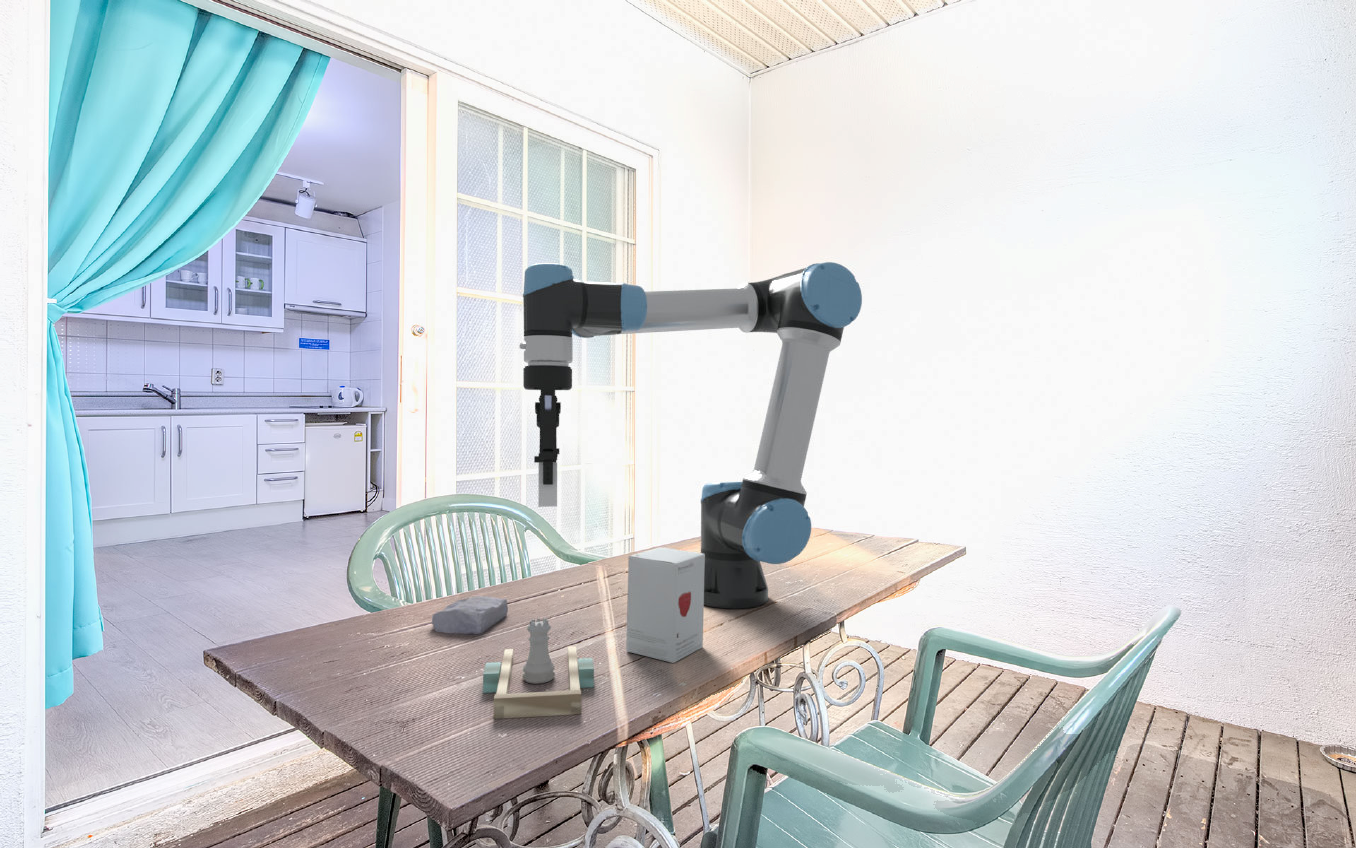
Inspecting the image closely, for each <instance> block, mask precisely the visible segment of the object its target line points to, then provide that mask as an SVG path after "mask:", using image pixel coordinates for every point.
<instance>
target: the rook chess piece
mask: <svg viewBox="0 0 1356 848" xmlns="http://www.w3.org/2000/svg"><path fill="white" fill-rule="evenodd" d="M551 628H552V626H551V625H550V623H549V619H547V618H542V621H541V617H539V618H536V619H534V618H533V619H531V620H529V624H528V626H527V627H526V630H527V631H528V633H529V634H530V635H529V637H528V642H529V652H528V657H527V659H526V660H525V661H526V663H525V664H524V665H523V668H522V671H523V674H522V679H523V680H524V681H525V682H526V683H529V684H533V685H534V684H535V685H538V684H539V685H540V684H546V683H549V682H551V681H552V680H553V679H554V678H555V676H556V673H555V671H554V670H555V665H554V663H553V661H552V658H550V653H549V647H548V646H549V640H550V636H548V635H549V634H548V633H549V631H550V630H551Z"/></svg>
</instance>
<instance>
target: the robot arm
mask: <svg viewBox="0 0 1356 848" xmlns="http://www.w3.org/2000/svg"><path fill="white" fill-rule="evenodd" d="M523 278H524V281H523V282H524V283H523V293H522V298H523V300H522V301H523V302H522V303H523V341H524V342H521V343H520V344H519V349H521V350H524V351H523V361H524V362H525V363H527V365H525V366H524V368H523V373H522V374H523V375H522V376H523V377H522V378H523V381H522V382H523V383H522V384H523V388H524V389H525V391H526V390H527V391H540V395H539V397H538V401H535V402H534V413H535V414H536V427H537V428H539V447H538V448H539V449H538V450H539V453H538V455H534V457H533V459H534V463H536V464H537V463H538V501H537V502H538V503H537V504H538V507H539V508H540V507H541V508H543V507H545V508H548V507H558V462H557V461H558V455H560V448H558V447H557V445H558V443H557V440H558V439H557V438H558V437H557V428H559V426H560V414H561V408H562V405H561V404H562V402H561V401H558V396H557V395H556V391H570V390H571V389H573V368H572V367H571V366H570V365H569V364H572V363H573V355H574V354H573V345H574V344H573V336H576V337H578V338H581V339H582V338H583V339H584V338H585V339H590V338H593V337H598V336H599V337H601V336H616V335H628V334H629V335H631V334H643V333H644V334H647V333H665V332H667V333H668V332H682V331H684V332H685V331H686V332H687V331H700V330H721V329H736V328H737V329H739V330H740V331H741V332H743V333H769V334H771V333H772V334H777V335H778V338H779V339H780V340H781V342H782V344H781V349H780V354H779V356H778V357H779V358H778V363H777V367H776V371H775V376H774V379H773V383H772V388H771V391H770V392H771V393H770V398H769V402H768V406H767V410H766V415H765V420H764V424H763V428H762V432H761V436H760V437H761V438H760V441H759V445H758V450H757V454H756V459H755V463H754V468H753V470H752V471H751V472H750V473H748V474H747V475H745V476H744V477H743V478H742V480H741V481H726V482H725V481H724V482H708V483H706V484H704V486H703V487H702V490H701V499H700V506H701V507H700V508H701V509H700V510H701V512H700V553H703V554H705V567H704V606H707V607H712V608H719V609H751V608H756V607H759V606H762V605H764V604H766V603H767V602H768V600H769V587H768V584H767V583H768V582H767V580H766V577H765V573H764V571H763V570H764V569H763V566H762V564H761V563H767V564H770V565H782V564H785V563H788V562H791V561H792V560H793V559H795V558H797V556H799V555H801V553H802V552H803V551H804V549H805V548H806V546H807V545H808V543H809V540H810V537H811V535H812V534H811V533H812V521H811V517H810V516H809V514H808V513H809V512H808V511H807V509H806V508H805V503H806V499H807V494H808V492H807V491H806V489H805V488H804V486H803V484H802V477H803V473H804V469H805V468H804V467H805V463H806V459H807V455H808V451H809V447H810V442H811V437H812V433H813V428H814V424H815V418H816V415H817V410H818V405H819V401H820V396H821V392H822V388H823V384H824V379H825V374H826V370H827V367H828V366H827V365H828V362H829V361H828V360H829V356H830V353H831V352H832V351H833V350H835V349H837V348H838V347H840V345H841V342H842V337H843V334H844V333H843V332H844V330H845V327H847V326H848V325H851V323H853V322H854V321H855V320H856V319H857V318H858V316H859V314H860V313H861V309H862V304H863V294H862V290H861V286H860V283H859V282H857V280H856V276H855V275H854V274H853V273H852V271H851V270H849V269H848V268H847V267H846V266H844V265H842V264H840V263H837V262H832V261H831V262H830V261H829V262H828V261H826V262H821V263H820V262H819V263H812V264H810V265H808V266H807V267H804V268H800V269H797V270H794V271H791V272H787V273H784V274H781V275H778V276H775V277H771V278H768V279H765V280H761V281H754V282H743V283H741V284H739V285H738V287H737V288H736V287H735V288H718V289H717V288H716V289H713V288H711V289H689V290H687V289H684V290H683V289H681V290H659V291H658V290H656V291H653V290H652V291H645V289H644V288H643V287H641V286H639V285H637V284H627V283H625V282H622V283H618V282H617V283H616V282H599V281H596V282H595V281H584V280H578V279H574V275H573V269H572V268H571V267H570V266H569V265H565V264H559V263H551V262H550V263H549V262H546V263H541V262H540V263H534V264H531V265H529V266H528V267H527V268H526V269H525V270H524V277H523Z"/></svg>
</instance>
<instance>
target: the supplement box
mask: <svg viewBox="0 0 1356 848" xmlns="http://www.w3.org/2000/svg"><path fill="white" fill-rule="evenodd" d="M627 563H628V565H627V567H628V570H627V571H628V572H627V599H626V600H627V606H626V607H627V608H626V609H627V611H626V639H625V640H626V646H625V651H626V653H627V652H628V653H633V654H635V655H641V656H643V657H648V658H651V659H656V660H660V661H665V662H666V663H667V662H668V663H671V664H675V663H677V662H678V661H680V660H682V659H683V658H686V657H687V656H689V655H691V654H692V653H694V652H696V651H698V650H700V649H702V648H703V646H704V642H703V641H704V612H705V611H704V610H705V609H704V606H705V605H704V567H705V554H703V553H701V552H697V551H690V550H689V551H687V550H680V549H675V548H669V547H662V546H659V547H656V548H652V549H649V550H643V551H640V552H639V553H635V554H632V555H629V556H628V562H627Z"/></svg>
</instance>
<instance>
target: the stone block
mask: <svg viewBox="0 0 1356 848" xmlns="http://www.w3.org/2000/svg"><path fill="white" fill-rule="evenodd" d="M508 611H509V607H508V600H507V598H498V597H492V596H484V595H477V596H473V597H467V598H462V599H458V600H456V601H455V602H453V603H449V605H447V606H446V607H444V609H442V610H440V611H437V612H435V613H434V614H432V617H431V624H432V627H433V630H434V631H435V632H439V633H445V634H464V635H469V634H471V635H481V634H483V633H485V632H486V631H487V630H488V629H490V628H491V627H493V626H494V625H496V624H497V623H498V622H500V621H501V620H503V619H504V618H505V617H506V616H507V615H508Z"/></svg>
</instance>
